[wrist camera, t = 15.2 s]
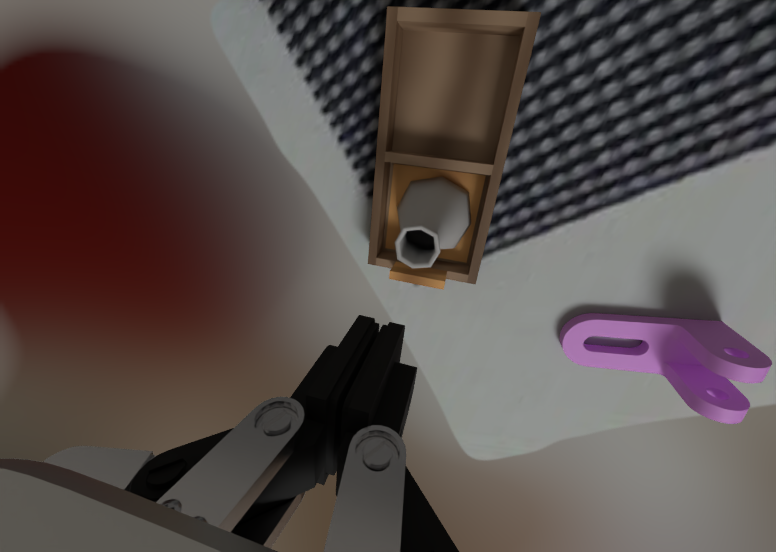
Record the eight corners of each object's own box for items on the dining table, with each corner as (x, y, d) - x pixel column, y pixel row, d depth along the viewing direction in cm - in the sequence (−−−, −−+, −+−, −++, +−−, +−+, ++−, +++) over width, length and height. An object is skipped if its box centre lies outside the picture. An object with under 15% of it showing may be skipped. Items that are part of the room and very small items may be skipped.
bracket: (720, 320, 29) (786, 371, 23) (700, 369, 31) (755, 427, 25) (563, 310, 32) (584, 352, 26) (555, 355, 34) (573, 403, 28)
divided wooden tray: (533, 26, 24) (548, -2, 19) (475, 271, 33) (475, 295, 28) (397, 20, 26) (378, -7, 21) (376, 253, 35) (360, 273, 30)
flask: (403, 168, 29) (373, 183, 21) (481, 183, 28) (485, 206, 20) (391, 241, 33) (360, 281, 24) (461, 257, 32) (456, 305, 23)
